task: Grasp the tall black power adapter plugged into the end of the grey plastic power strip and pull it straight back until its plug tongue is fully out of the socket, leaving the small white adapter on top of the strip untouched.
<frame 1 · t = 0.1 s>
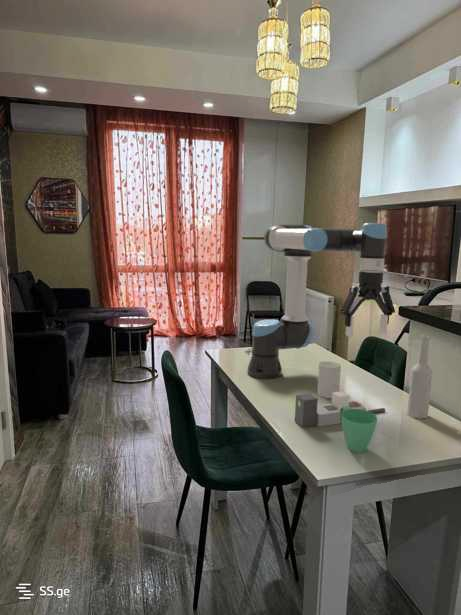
hand: (366, 334, 142), 28 cm above the table, fingers open, 13 cm apart
bottle: (417, 415, 147), on the table
pale pink cylinder: (327, 394, 164), on the table
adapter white: (339, 406, 142), point 4 cm above the table, touching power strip
adapter black: (310, 409, 137), point 5 cm above the table, slide at 0.0 cm
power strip: (336, 418, 142), on the table
mug: (352, 444, 125), on the table
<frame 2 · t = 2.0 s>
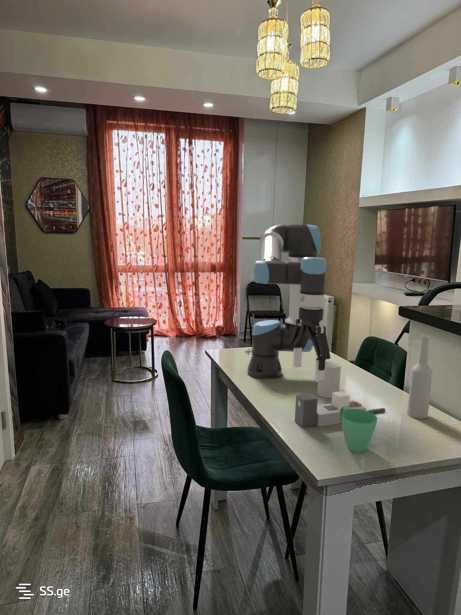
hand: (307, 373, 135), 17 cm above the table, fingers open, 13 cm apart
nothing on the table moved.
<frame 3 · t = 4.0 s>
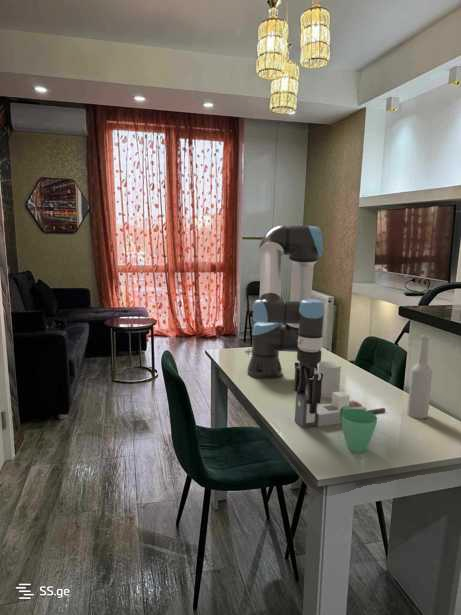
hand: (305, 418, 137), 2 cm above the table, fingers closed on adapter black, 5 cm apart
adapter black: (310, 409, 137), point 5 cm above the table, slide at 0.0 cm, touching gripper
everything else where it was.
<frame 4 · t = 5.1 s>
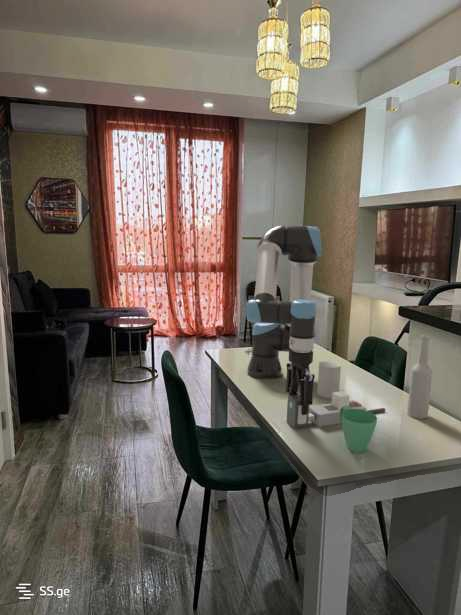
hand: (297, 419, 136), 2 cm above the table, fingers closed on adapter black, 5 cm apart
adapter black: (302, 410, 136), point 5 cm above the table, slide at 3.0 cm, touching gripper
everything else where it was.
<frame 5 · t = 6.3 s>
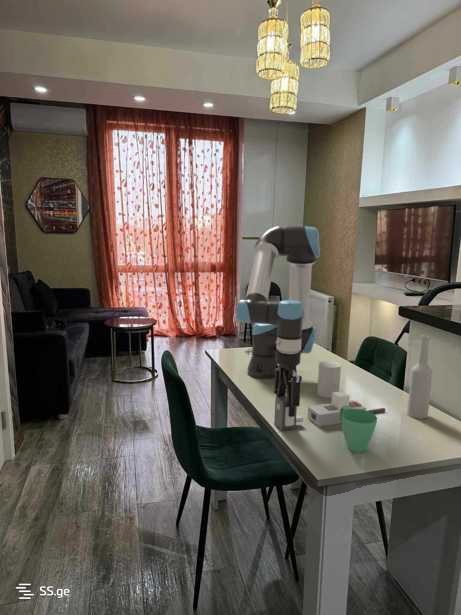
hand: (285, 421, 135), 2 cm above the table, fingers closed on adapter black, 5 cm apart
adapter black: (289, 412, 135), point 5 cm above the table, slide at 7.5 cm, touching gripper
everything else where it was.
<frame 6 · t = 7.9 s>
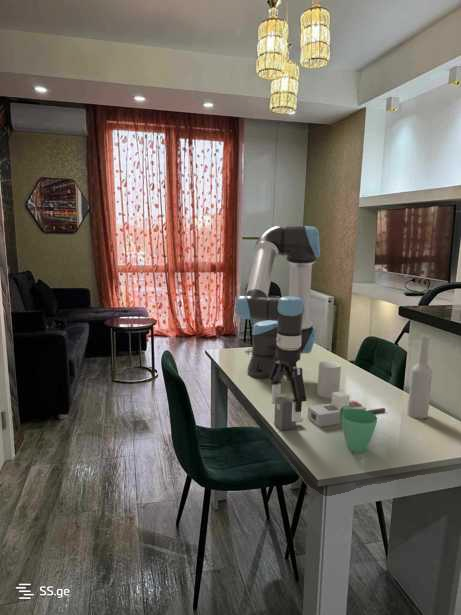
hand: (285, 411, 135), 5 cm above the table, fingers open, 13 cm apart
adapter black: (289, 412, 135), point 5 cm above the table, slide at 7.5 cm
everything else where it was.
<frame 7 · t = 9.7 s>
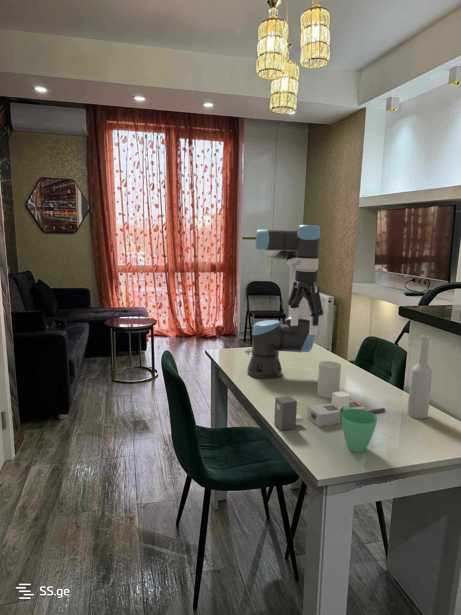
hand: (303, 329, 151), 27 cm above the table, fingers open, 13 cm apart
nothing on the table moved.
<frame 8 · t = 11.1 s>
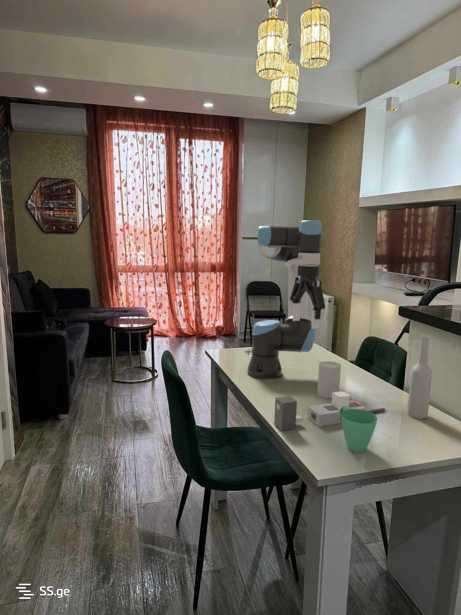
hand: (305, 324, 153), 29 cm above the table, fingers open, 13 cm apart
nothing on the table moved.
at the end: adapter black slide at 7.5 cm; the gripper is holding nothing; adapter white moved 0.0 cm from its start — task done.
